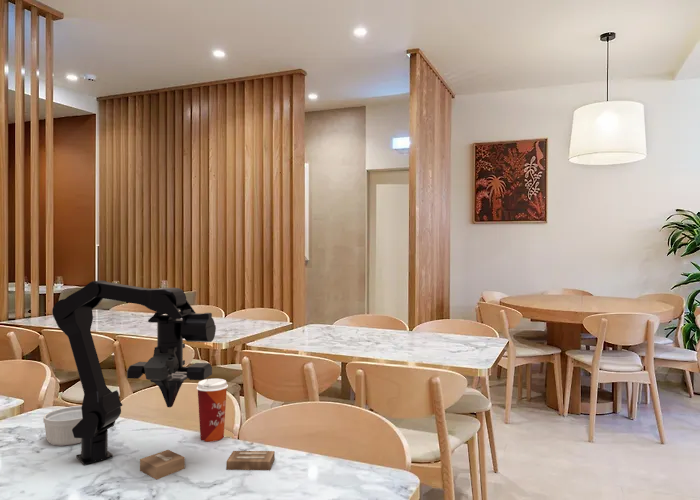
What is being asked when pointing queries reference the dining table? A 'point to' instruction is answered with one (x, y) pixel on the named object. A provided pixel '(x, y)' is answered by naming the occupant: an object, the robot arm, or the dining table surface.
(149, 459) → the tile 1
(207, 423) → the coffee cup
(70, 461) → the dining table surface
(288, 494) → the dining table surface
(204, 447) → the dining table surface
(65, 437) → the ramekin
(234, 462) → the wooden block
